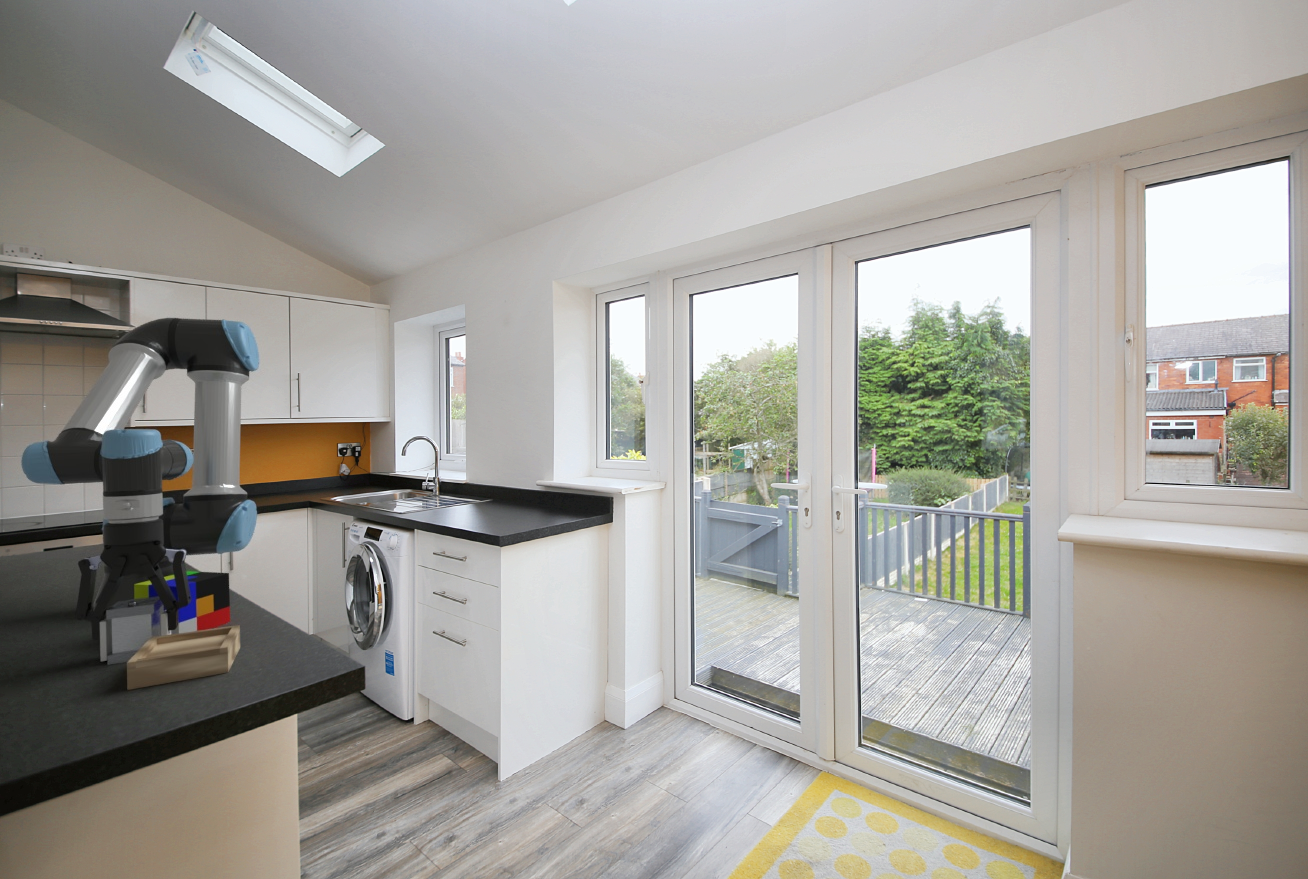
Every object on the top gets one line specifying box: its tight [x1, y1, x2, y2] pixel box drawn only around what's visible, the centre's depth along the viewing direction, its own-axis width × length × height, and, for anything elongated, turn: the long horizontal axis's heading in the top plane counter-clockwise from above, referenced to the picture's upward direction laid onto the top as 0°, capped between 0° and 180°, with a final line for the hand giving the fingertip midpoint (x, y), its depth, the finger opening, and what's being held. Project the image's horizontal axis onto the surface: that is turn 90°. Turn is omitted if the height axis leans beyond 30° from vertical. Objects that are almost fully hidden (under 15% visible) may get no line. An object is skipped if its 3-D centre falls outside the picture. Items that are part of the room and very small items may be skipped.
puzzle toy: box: [134, 570, 231, 636], centre depth 110 cm, size 10×10×10 cm
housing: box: [105, 596, 163, 666], centre depth 97 cm, size 6×6×10 cm
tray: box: [126, 624, 241, 691], centre depth 92 cm, size 12×12×4 cm
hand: (137, 653), depth 97 cm, fingers open, 7 cm apart
